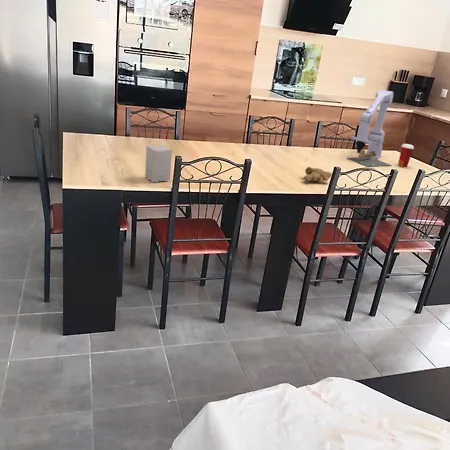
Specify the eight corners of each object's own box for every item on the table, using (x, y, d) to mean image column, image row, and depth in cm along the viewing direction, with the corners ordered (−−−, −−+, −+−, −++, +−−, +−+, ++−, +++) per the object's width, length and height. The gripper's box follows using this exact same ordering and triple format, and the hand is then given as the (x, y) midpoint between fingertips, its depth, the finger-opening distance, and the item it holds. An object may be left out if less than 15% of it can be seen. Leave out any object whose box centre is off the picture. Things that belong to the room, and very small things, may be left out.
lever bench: (370, 157, 302) (371, 154, 301) (391, 166, 287) (392, 162, 286) (346, 158, 293) (347, 154, 292) (367, 166, 278) (368, 162, 276)
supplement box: (170, 181, 207) (172, 150, 201) (152, 183, 202) (154, 150, 196) (162, 175, 214) (164, 144, 208) (144, 177, 209) (146, 145, 203)
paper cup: (408, 166, 293) (414, 145, 287) (408, 168, 286) (414, 147, 281) (396, 163, 295) (401, 142, 289) (396, 166, 288) (401, 145, 283)
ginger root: (326, 174, 244) (329, 161, 240) (331, 190, 232) (335, 177, 227) (297, 172, 244) (300, 159, 239) (301, 188, 231) (304, 175, 226)
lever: (371, 154, 299) (372, 147, 298) (376, 155, 297) (378, 149, 295) (356, 156, 288) (358, 149, 286) (362, 158, 285) (364, 151, 283)
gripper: (350, 129, 286) (345, 150, 291) (369, 135, 276) (363, 156, 281) (357, 129, 290) (352, 150, 295) (375, 134, 280) (370, 155, 285)
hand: (358, 153), depth 288 cm, fingers closed
